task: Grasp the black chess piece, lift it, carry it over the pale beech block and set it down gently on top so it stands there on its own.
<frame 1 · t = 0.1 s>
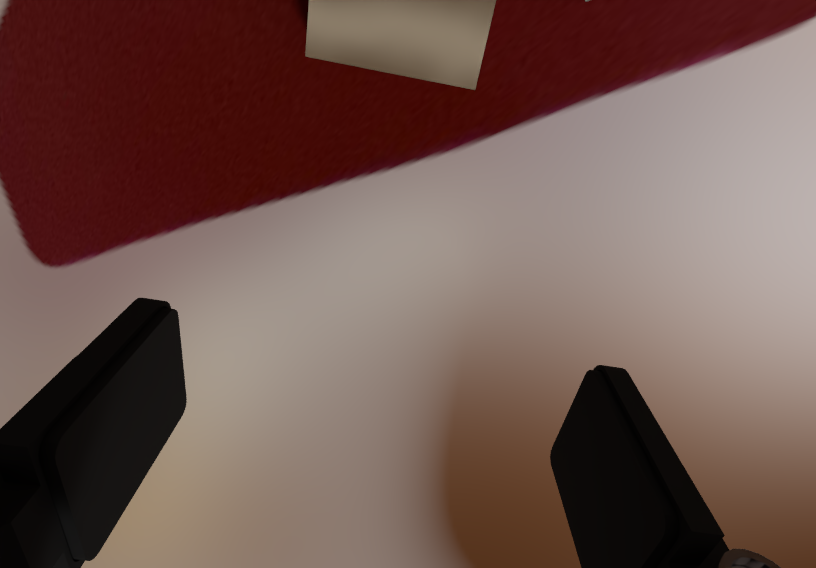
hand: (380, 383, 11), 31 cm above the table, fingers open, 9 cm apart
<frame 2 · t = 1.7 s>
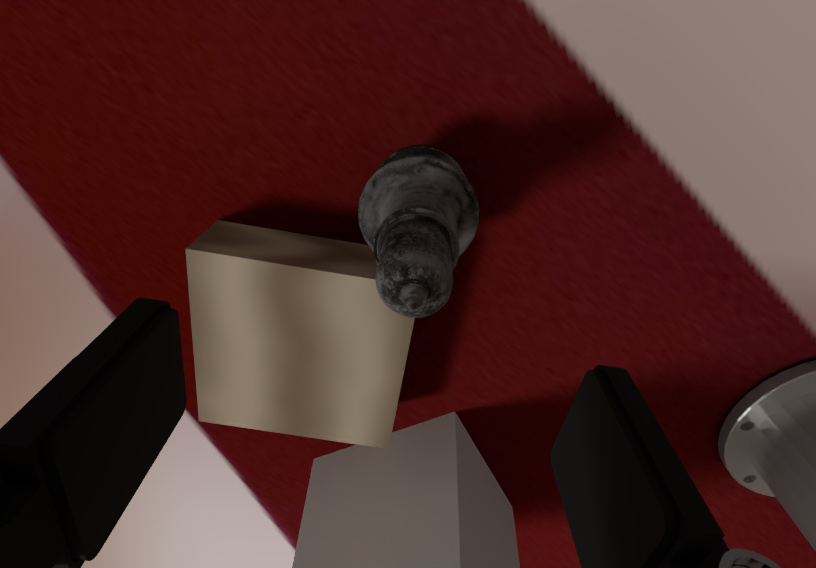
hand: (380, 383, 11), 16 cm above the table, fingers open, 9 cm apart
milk: (415, 481, 37), on the table
black chess piece: (419, 193, 26), on the table
beech block: (314, 321, 30), on the table
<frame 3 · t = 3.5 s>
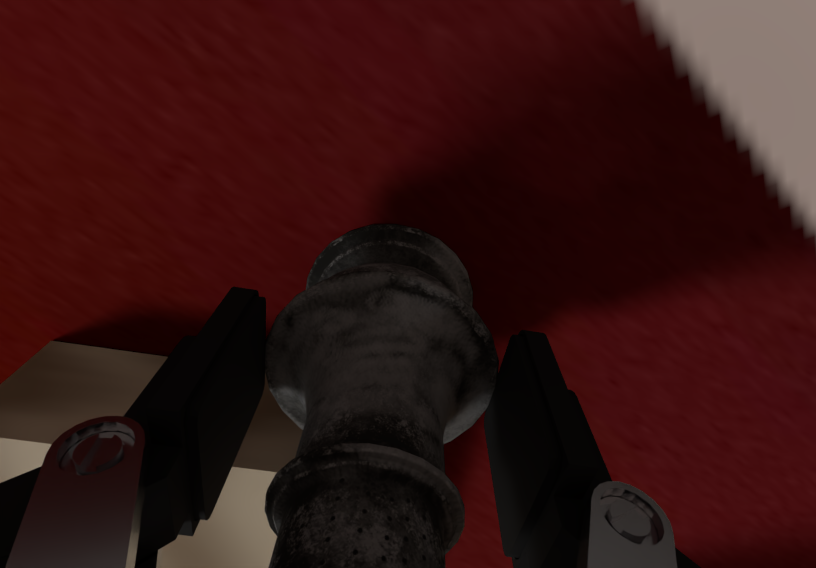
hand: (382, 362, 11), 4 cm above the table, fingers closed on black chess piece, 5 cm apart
black chess piece: (389, 298, 15), on the table, touching gripper
beech block: (233, 478, 19), on the table
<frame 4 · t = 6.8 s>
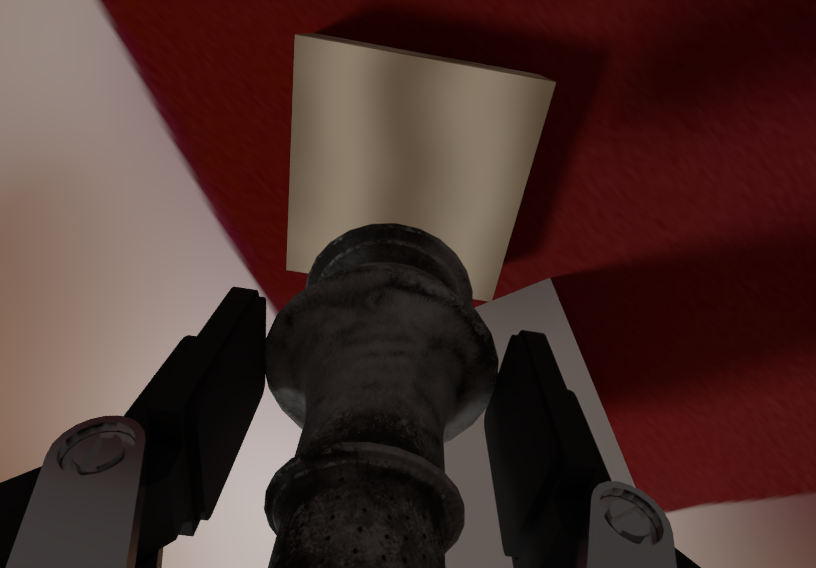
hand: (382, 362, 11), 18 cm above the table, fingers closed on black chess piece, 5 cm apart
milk: (496, 367, 35), on the table
black chess piece: (389, 297, 15), point 15 cm above the table, touching gripper
beech block: (408, 165, 27), on the table
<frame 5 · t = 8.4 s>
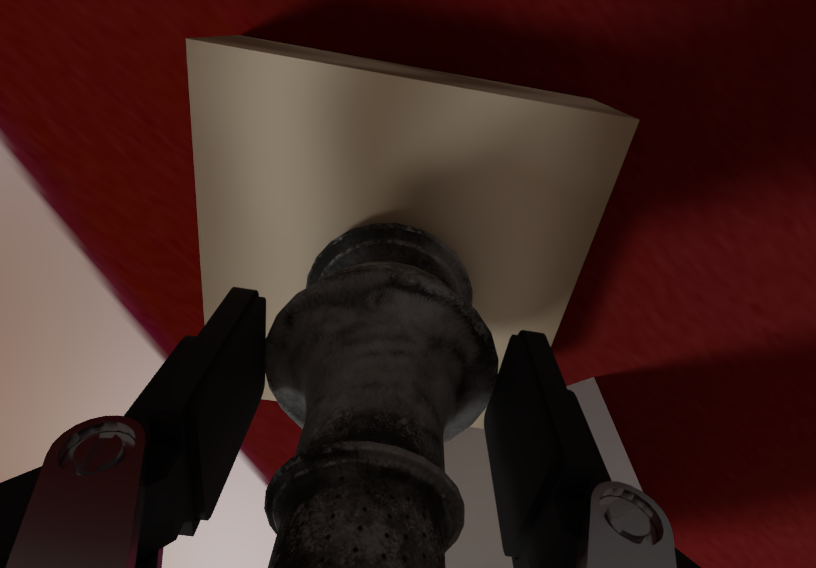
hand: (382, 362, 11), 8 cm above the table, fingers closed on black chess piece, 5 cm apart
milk: (515, 481, 26), on the table
black chess piece: (389, 297, 15), point 4 cm above the table, touching gripper
beech block: (393, 230, 18), on the table
when the fingers open (8 cm above the table, at t = 9.7 s): black chess piece stays where it is, resting on beech block.
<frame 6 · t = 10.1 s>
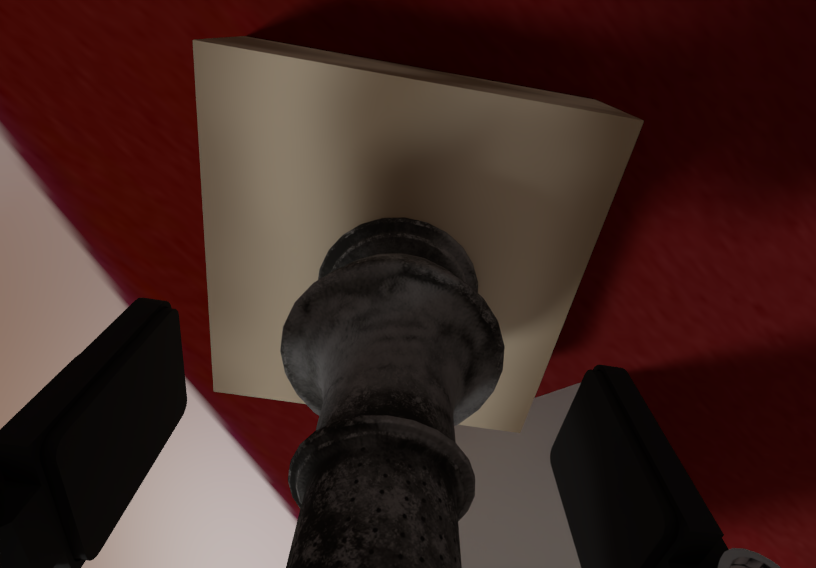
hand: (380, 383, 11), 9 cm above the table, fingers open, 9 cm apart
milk: (518, 481, 26), on the table
black chess piece: (397, 289, 15), point 4 cm above the table, touching beech block
beech block: (397, 231, 19), on the table
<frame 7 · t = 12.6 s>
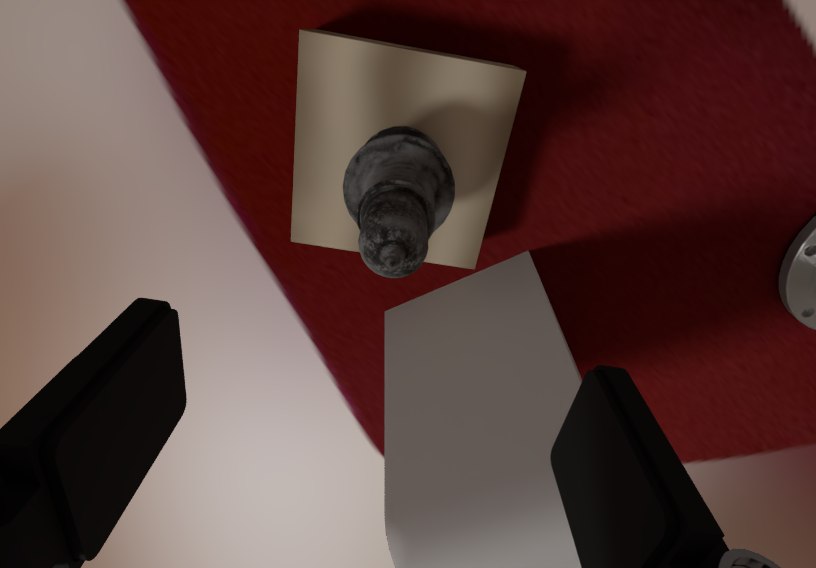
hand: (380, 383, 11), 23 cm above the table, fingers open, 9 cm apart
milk: (482, 335, 38), on the table
black chess piece: (401, 171, 27), point 4 cm above the table, touching beech block
beech block: (399, 148, 30), on the table
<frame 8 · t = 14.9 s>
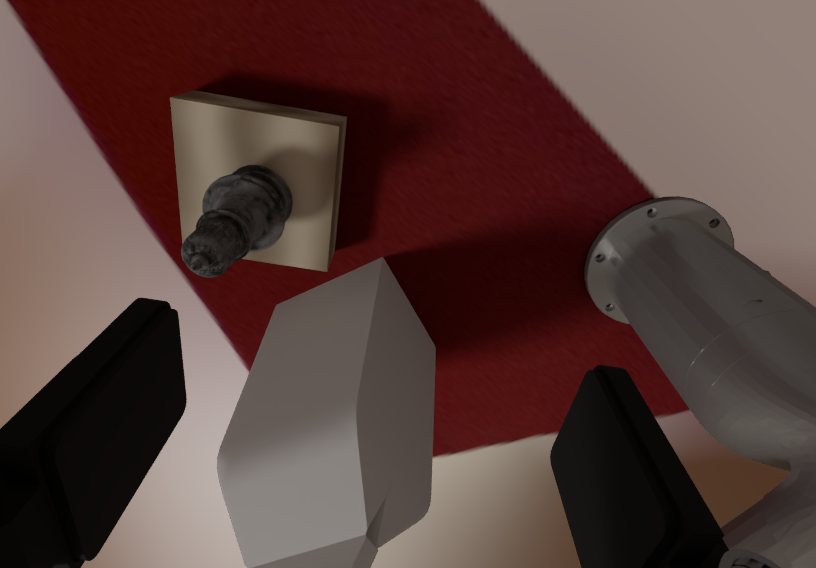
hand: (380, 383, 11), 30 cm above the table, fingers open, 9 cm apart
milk: (358, 325, 47), on the table
black chess piece: (259, 197, 36), point 4 cm above the table, touching beech block
beech block: (270, 177, 39), on the table
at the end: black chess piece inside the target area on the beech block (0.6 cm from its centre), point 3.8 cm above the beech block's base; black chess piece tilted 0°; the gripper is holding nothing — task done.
